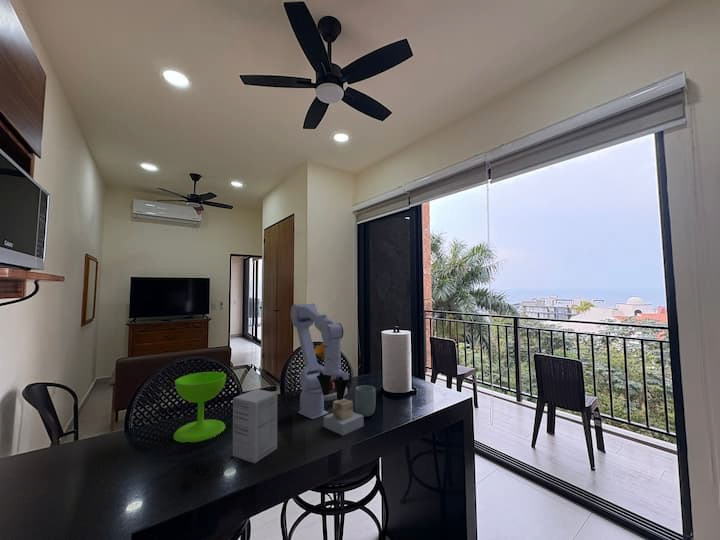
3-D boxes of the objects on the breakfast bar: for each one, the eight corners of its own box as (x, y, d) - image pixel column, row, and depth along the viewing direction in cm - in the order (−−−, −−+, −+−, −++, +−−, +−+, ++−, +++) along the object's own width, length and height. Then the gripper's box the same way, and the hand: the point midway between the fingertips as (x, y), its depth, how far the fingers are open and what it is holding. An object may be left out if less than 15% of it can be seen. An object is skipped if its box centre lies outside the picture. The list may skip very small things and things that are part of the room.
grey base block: (323, 428, 111) (323, 416, 111) (344, 419, 118) (344, 408, 118) (343, 437, 104) (342, 424, 104) (363, 427, 111) (363, 415, 111)
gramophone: (331, 384, 161) (331, 334, 163) (356, 394, 146) (355, 339, 147) (295, 392, 148) (295, 339, 150) (318, 404, 132) (318, 344, 134)
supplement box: (256, 442, 100) (256, 388, 101) (278, 448, 96) (278, 392, 97) (231, 456, 92) (232, 397, 93) (254, 464, 87) (255, 402, 88)
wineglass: (204, 444, 98) (206, 386, 100) (161, 440, 102) (163, 383, 103) (234, 423, 114) (235, 372, 115) (196, 420, 117) (197, 371, 118)
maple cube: (332, 416, 111) (332, 401, 112) (343, 412, 115) (343, 398, 115) (342, 419, 108) (342, 405, 108) (352, 415, 111) (352, 401, 112)
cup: (367, 420, 116) (367, 392, 116) (351, 415, 120) (351, 388, 121) (379, 413, 122) (379, 387, 123) (363, 409, 127) (363, 384, 127)
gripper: (311, 357, 114) (311, 395, 113) (338, 362, 104) (338, 404, 103) (326, 354, 119) (326, 391, 118) (353, 359, 109) (353, 399, 108)
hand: (333, 397), depth 111 cm, fingers open, 7 cm apart
